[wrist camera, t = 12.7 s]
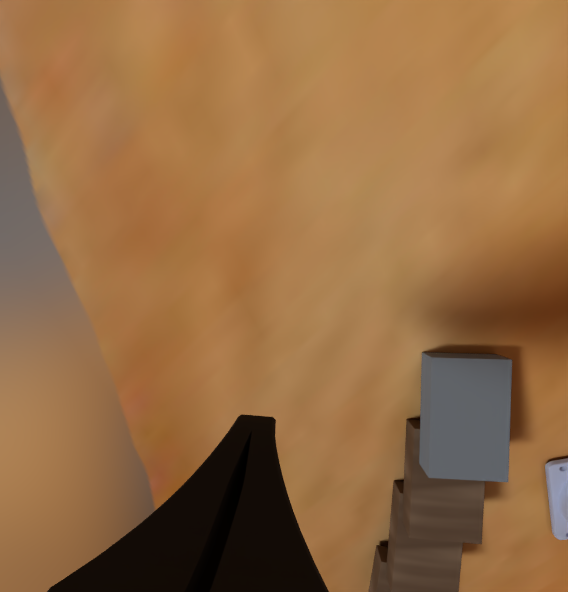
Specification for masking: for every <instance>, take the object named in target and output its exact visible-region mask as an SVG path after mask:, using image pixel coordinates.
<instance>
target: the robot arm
mask: <svg viewBox="0 0 568 592" xmlns="http://www.w3.org/2000/svg"><path fill="white" fill-rule="evenodd" d="M275 423H276V420H275V419H274V418H273V417H265V416H253V415H240V416H239V417H238V418H237V420H236V421H235V423H234V424H233V426H232V427H231V429H230V430H229V431H228V433H227V434H226V435H225V437H224V438H223V439H222V441H221V442H220V443H219V445H218V446H217V447H216V448H215V450H214V451H213V452H212V453H211V455H210V456H209V457H208V458H207V459H206V460H205V462H204V463H203V464H202V465H201V466H200V467H199V468H198V469H197V470H196V472H195V473H194V474H193V475H192V476H191V477H190V478H189V479H188V480H187V481H186V482H185V483H184V484H183V485H182V486H181V487H180V488H179V489H178V490H177V491H176V492H175V493H174V494H173V495H172V496H171V497H170V498H169V499H168V500H167V501H166V502H165V503H164V504H162V505H161V506H160V507H159V508H158V509H157V510H156V511H154V512H153V513H152V514H151V515H150V516H149V517H148V518H146V519H145V520H144V521H143V522H142V523H141V524H139V525H138V526H137V527H136V528H134V529H133V530H132V531H130V532H129V533H128V534H126V535H125V536H124V537H123V538H121V539H120V540H119V541H118V542H116V543H115V544H113V545H112V546H111V547H109V548H108V549H107V550H106V551H104V552H103V553H101V554H100V555H99V556H97V557H96V558H95V559H93V560H91V561H90V562H88V563H87V564H85V565H84V566H82V567H81V568H79V569H78V570H76V571H75V572H73V573H72V574H70V575H69V576H67V577H66V578H65V579H63V580H61V581H60V582H58V583H57V584H55V585H54V586H52V587H51V588H50V589H49V590H48V591H47V592H329V591H328V589H327V587H326V585H325V583H324V581H323V579H322V577H321V575H320V573H319V571H318V569H317V567H316V565H315V563H314V561H313V558H312V556H311V554H310V551H309V549H308V547H307V544H306V542H305V540H304V538H303V535H302V533H301V531H300V528H299V525H298V523H297V520H296V517H295V515H294V512H293V509H292V506H291V503H290V500H289V497H288V494H287V491H286V487H285V484H284V480H283V476H282V472H281V468H280V464H279V459H278V454H277V448H276V440H275ZM545 470H546V479H547V488H548V498H549V507H550V516H551V525H552V533H553V535H554V536H555V537H556V538H557V539H559V540H565V539H568V458H566V459H560V460H554V461H550V462H548V463H547V464H546V465H545Z"/></svg>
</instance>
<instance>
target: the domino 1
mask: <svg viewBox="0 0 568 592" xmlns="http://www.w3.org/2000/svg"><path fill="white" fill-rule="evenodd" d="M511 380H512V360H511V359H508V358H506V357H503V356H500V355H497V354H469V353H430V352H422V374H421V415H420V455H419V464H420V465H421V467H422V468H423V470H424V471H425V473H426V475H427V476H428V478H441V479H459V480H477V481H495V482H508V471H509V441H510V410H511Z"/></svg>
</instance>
